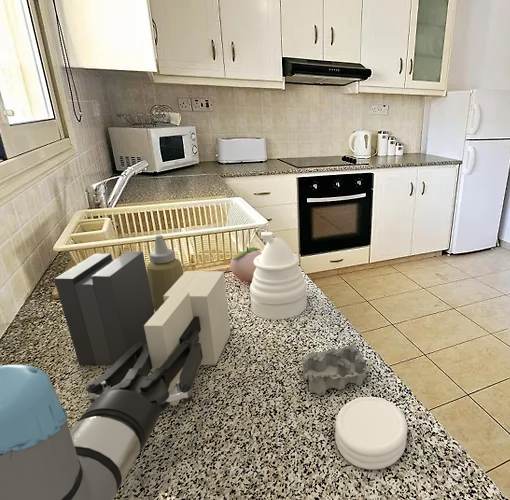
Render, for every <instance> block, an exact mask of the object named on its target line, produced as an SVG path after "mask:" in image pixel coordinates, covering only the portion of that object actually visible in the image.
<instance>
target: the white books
mask: <svg viewBox="0 0 510 500" xmlns="http://www.w3.org/2000/svg"><path fill="white" fill-rule="evenodd" d="M183 273H184V274H183V275H182V276H181V277H180V278H179V279H178V280H177V282H176V283H175V284H174V285H173V286H172V287H171V288H170V289H169V290H168V291H167V292H166V294H165V295H164V296H163V298H164V302H165V301H166V300H167V299H168V298H169V297H170V296H171V294H172V293H173V292H189V294H190V301H191V307H192V314H193V318H194V316H199V321H200V327H201V331H200V332H199V341H198V343H201V348H202V355H203V359H202V361H201V364H200V366H216V365H217V363H218V361H219V359H220V357H221V355H222V353H223V350H224V348H225V346H226V344H227V342H228V340H229V337H230V336H231V333H232V332H231V324H230V323H231V322H230V315H229V313H230V312H229V306H228V305H229V304H228V295H227V286H226V278H225V277H226V276H225V271H223V270H221V271H219V270H218V271H217V270H215V271H214V270H186V271H185V272H183Z"/></svg>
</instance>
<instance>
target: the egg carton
mask: <svg viewBox="0 0 510 500" xmlns="http://www.w3.org/2000/svg"><path fill="white" fill-rule="evenodd" d="M300 362H301V364H302V376H303V379H304V381H306V380H308V391H309V393H310V394H317V395H318V396H324V395H326V394H327V393H326V392H327V390H330V389H336V390H338V391H341V390H344V389H345V387H346V385H348V384H355V385H356V386H361V385H363V383H364V380H365V379H366V378H367V372H368V371H371V370H370V369H371V368H370V367H369V366H368V365H367V361H366V360H365V359H364V357H363V355H362V353H361V351H360V350H359V349H358V347H357V345H356V344H355V343H352V344H349V345H347V346H343V347H338V348H337V349H336V348H335V347H333V348H330V349H327V350H322V351H319V352H309V353H307V354H306V355H305V356H304V357H302V358H301V360H300Z"/></svg>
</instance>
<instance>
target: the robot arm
mask: <svg viewBox="0 0 510 500" xmlns="http://www.w3.org/2000/svg"><path fill="white" fill-rule="evenodd" d="M200 331H201V327H200V321H199V316H194V318H193V319H192V321H191V322H190V324H189V325H188V327H187V328H186V330H185V331H184V332H183V334H182V335H181V337H180V338H179V341H180V345H179V346H178V348H177V349H176V350H175V351H174V352H173V353H172V354H171V356H170V357H169V358H168V359H167V360H166V361H165V362H164V363H163V365H162V366H161V367H160V368H156V369H155V370H154V371H153V367H152V363H151V358H150V353H149V348H148V343H147V344H145V345H142V343H136V344H134V345H133V346H132V347H131V348H130V349H129V350H128V351H127V352H126V353H125V354H124V355H123V356H122V357H121V358H119V359H118V360H117V361H116V362H115V363H114V364H113V365H110V367H108V368H107V370H106V371H105V372H104V373H103V374H101V375H100V376H98V377H97V378H95V379H94V380H92V381H91V382H89V383H87V384H86V385H85V389H86V393H87V396H88V399H89V403H91V404H90V405H89V407H88V408H87V409H86V410H85V412H84V413H83V414H82V415H81V416H80V417H79V419H78V421H77V422H76V423H75V424H74V425H73V426H72V427H71V428H70V427H69V424H68V421H67V419H68V414H67V411H66V409H65V408H64V406H63V405H62V404H61V401H60V399H59V397H58V394H57V391H56V390H55V388H54V385H53V383H52V380H51V378H50V376H49V375H48V374H47V373H46V372H45V371H44V370H42V369H40V368H38V367H36V366H32V365H29V364H28V365H27V364H19V363H17V364H5V365H4V364H3V365H0V500H114V499H115V497H116V495H117V493H118V492H119V490H120V488H121V486H122V484H123V483H124V481H125V479H126V477H127V476H128V474H129V472H130V471H131V469H132V467H133V466H134V464H135V462H136V460H137V459H138V457H139V455H140V452H141V451H142V450H143V448H144V447H145V445H146V443H147V442H148V440H149V439H150V436H151V434H152V433H153V431H154V429H155V427H156V426H157V423H158V421H159V417H160V416H161V414H162V413H163V412H164V411H165V410H166V409H168V408H169V407H170V406H171V405H170V402H173V401H176V400H179V401H180V400H182V402H183V403H186V404H187V403H191V402H192V401H193V400H194V397H193V387H194V384H195V381H196V378H197V375H198V373H199V370H200V366H201V365H200V364H201V361H202V359H203V355H202V348H201V343H198V341H199V332H200ZM182 368H183V369H182ZM181 369H182V371H181V374H180V377H179V380H180V381H179V380H178V381H176V385H175V386H174V388H173V390H171V391H168V389H169V387H170V383H171V382H172V381H173V379H174V378H175V377H176V375H177V374H178V373H179V372H180V370H181Z"/></svg>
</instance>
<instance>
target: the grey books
mask: <svg viewBox="0 0 510 500" xmlns="http://www.w3.org/2000/svg"><path fill="white" fill-rule="evenodd" d="M53 281H54V284H55V287H56V291H57V294H58V298H59V301H60V304H61V308H62V311H63V315H64V318H65V322H66V325H67V329H68V331H69V335H70V339H71V342H72V346H73V349H74V352H75V355H76V358H77V362H78V365H80V366H102V365H104V366H112V365H113V364H114V363H115V362H116V361H117V360H118V359H119V358H121V357H122V356H123V355H124V354H125V353H126V352H127V351H128V350H129V349H130V348H131V347H132V346H133V345H134V344H136V343H142V345H145V344H147V339H146V334H145V329H144V325H145V324H146V323H147V322H148V320H149V319H150V318H151V317H152V316H153V315H154V314H155V312H156V311H155V310H154V307H153V301H152V296H151V291H150V286H149V281H148V275H147V265H146V261H145V254H144V251H134V250H133V251H132V250H129V251H125V252H123V253H122V254H121V255H120V256H118V257H117V258H113V256H112V253H94V254H92V255H90V256H89V257H87V258H86V259H84V260H82V261H81V262H78V263H77V264H75V265H74V266H73V267H70V268H69V269H67V270H66V271H64V272H62V273H61V274H60V275H58V276H56V277H54V278H53Z"/></svg>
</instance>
